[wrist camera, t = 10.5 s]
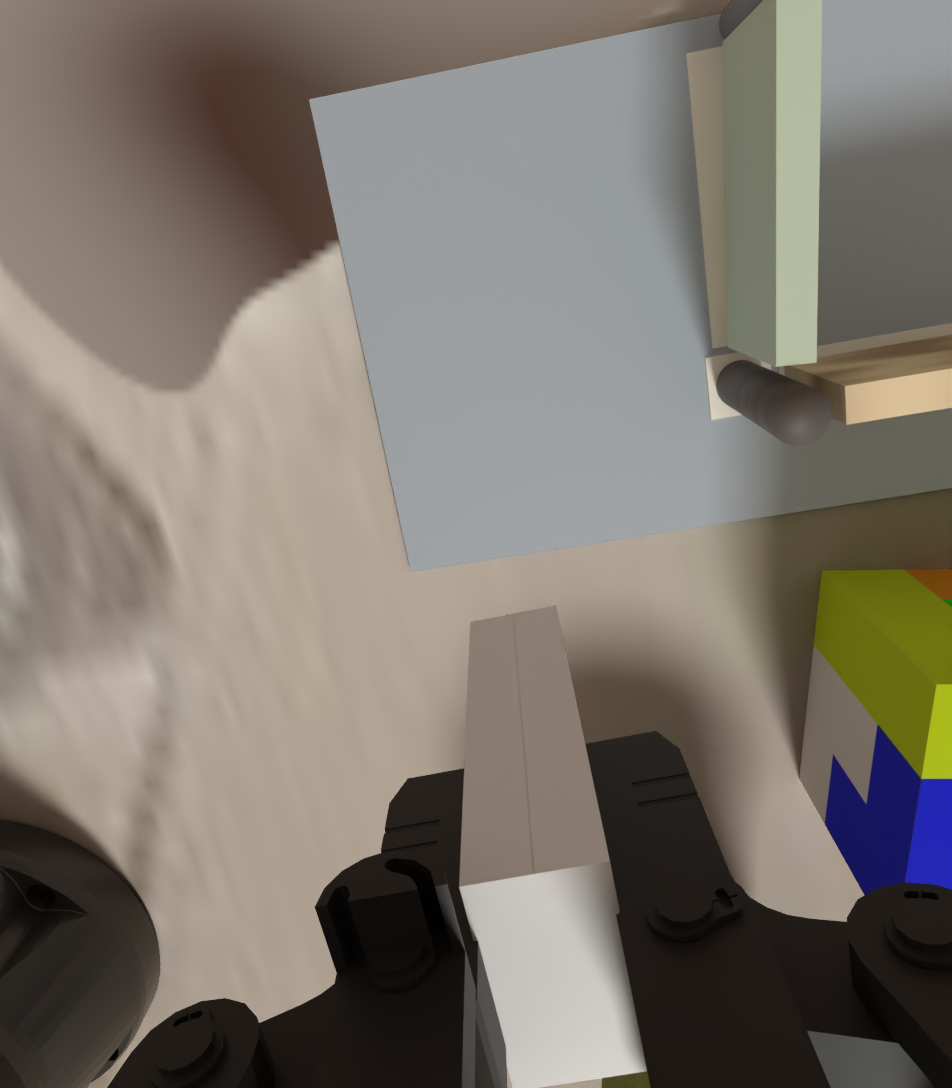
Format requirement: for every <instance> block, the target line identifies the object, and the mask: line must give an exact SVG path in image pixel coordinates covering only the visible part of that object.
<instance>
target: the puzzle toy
mask: <svg viewBox="0 0 952 1088" xmlns="http://www.w3.org/2000/svg"><path fill="white" fill-rule="evenodd" d="M799 779H800V781H801V782H802V784H803V786H804V788H805V790H806V791H807V793H808V795H809V797H810V798H811V800H812V802H813V804H814V806H815V807H816V809H817V811H818V813H819V814H820V816H821V818H822V820H823V822H824V823H825V825H826V827H827V829H828V831H829V832H830V834H831V836H832V838H833V839H834V841H835V843H836V845H837V847H838V848H839V850H840V852H841V854H842V856H843V857H844V859H845V861H846V863H847V864H848V866H849V868H850V870H851V872H852V873H853V875H854V877H855V879H856V880H857V882H858V884H859V886H860V888H861V889H862V891H863V893H864V895H866V894H868V893H870V892H871V891H873V890H875V889H876V888H878V887H884V886H889V885H894V884H899V883H904V882H907V883H921V884H935V885H939V886H942V887H945V888H948V889H951V890H952V569H899V570H827V571H822V572H821V581H820V590H819V599H818V609H817V618H816V627H815V636H814V646H813V655H812V664H811V674H810V683H809V692H808V701H807V711H806V720H805V729H804V738H803V748H802V757H801V766H800V775H799Z"/></svg>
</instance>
